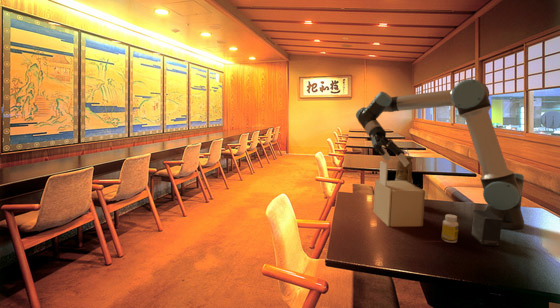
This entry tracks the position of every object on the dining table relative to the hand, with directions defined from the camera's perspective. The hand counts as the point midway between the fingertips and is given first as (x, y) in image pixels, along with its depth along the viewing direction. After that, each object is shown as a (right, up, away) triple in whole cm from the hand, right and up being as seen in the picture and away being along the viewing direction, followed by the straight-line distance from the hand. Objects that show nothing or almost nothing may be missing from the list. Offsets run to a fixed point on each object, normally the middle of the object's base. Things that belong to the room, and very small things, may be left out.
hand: (398, 162), depth 144 cm
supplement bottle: (+12, -30, -20) cm, 38 cm away
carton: (+1, -26, +3) cm, 26 cm away
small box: (+26, -30, -20) cm, 44 cm away
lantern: (+13, -23, +30) cm, 40 cm away
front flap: (-7, -26, +2) cm, 27 cm away
